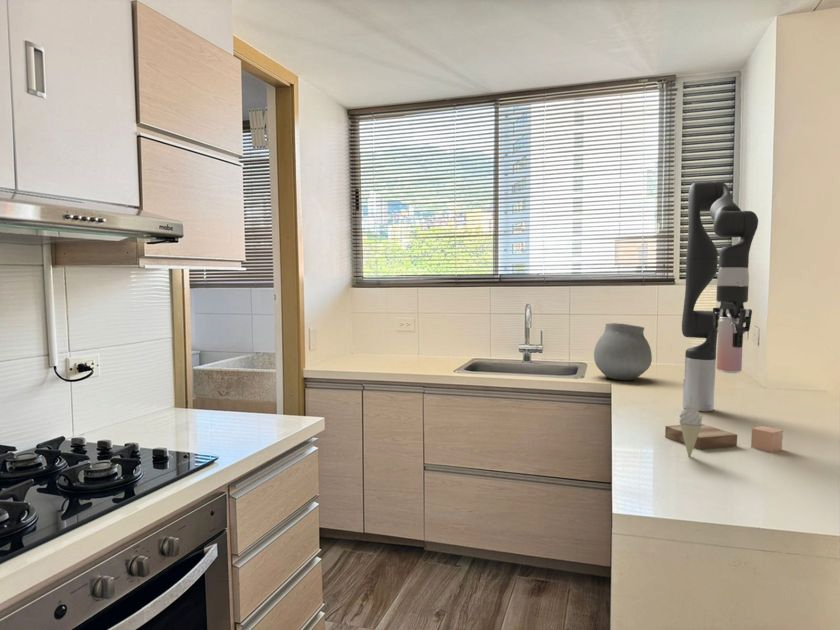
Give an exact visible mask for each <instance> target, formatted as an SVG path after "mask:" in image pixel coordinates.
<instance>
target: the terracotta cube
mask: <svg viewBox="0 0 840 630" xmlns="http://www.w3.org/2000/svg"><path fill="white" fill-rule="evenodd" d="M783 430H784V429H783ZM783 430H782V429H778V428H775V427H774V428H772V427H768V426H765V425H760V426H756V427H752V428H751V441H750V442H751V443H750V448H752V449H757V450H761V451H765V452H768V453H774V452H778V451H780V450H782V449H783Z"/></svg>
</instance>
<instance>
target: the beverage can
mask: <svg viewBox="0 0 840 630" xmlns="http://www.w3.org/2000/svg"><path fill="white" fill-rule="evenodd" d="M733 319H734V321H737V322H739V318H736V319H735V318H733ZM718 324H719V326H718V333H717V348H716V370H717V372H720V373H727V374H740V373H741V372H742V368H743V366H742V364H743V349H744V348H743V344H742V347H741V348H736V347H733V333H734V331H733V326H732V325H730V318H728V317H720V319H719V323H718ZM737 328H738V325H737ZM734 334H735V333H734ZM742 342H743V343H744V340H743V341H742Z"/></svg>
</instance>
